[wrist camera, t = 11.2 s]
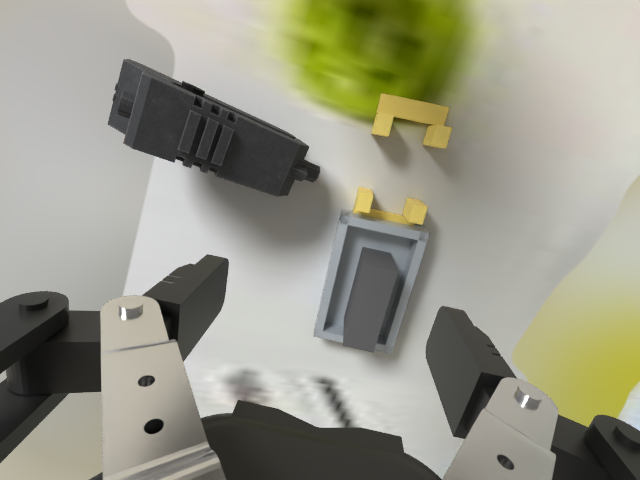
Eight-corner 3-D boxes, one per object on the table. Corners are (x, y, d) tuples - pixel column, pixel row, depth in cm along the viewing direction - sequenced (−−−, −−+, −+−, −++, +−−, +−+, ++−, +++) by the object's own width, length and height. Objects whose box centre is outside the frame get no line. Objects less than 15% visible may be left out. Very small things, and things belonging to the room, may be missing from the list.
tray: (341, 209, 39) (341, 214, 36) (423, 227, 39) (429, 233, 36) (315, 323, 44) (313, 336, 41) (388, 339, 44) (391, 353, 41)
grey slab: (362, 246, 39) (364, 264, 34) (390, 252, 39) (398, 272, 34) (342, 322, 43) (341, 350, 37) (368, 328, 43) (371, 357, 37)
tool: (133, 52, 33) (115, 54, 21) (295, 129, 43) (345, 160, 31) (119, 110, 35) (94, 142, 23) (277, 171, 45) (318, 215, 33)
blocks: (380, 93, 35) (384, 87, 31) (447, 107, 35) (459, 103, 31) (350, 221, 39) (350, 229, 36) (409, 234, 39) (416, 244, 35)
